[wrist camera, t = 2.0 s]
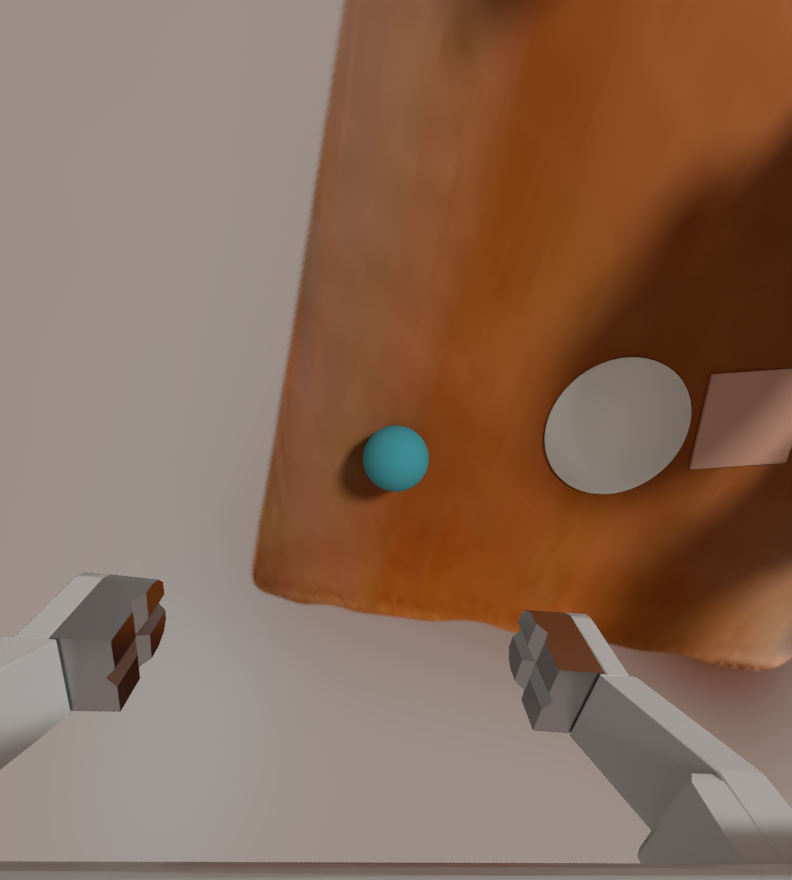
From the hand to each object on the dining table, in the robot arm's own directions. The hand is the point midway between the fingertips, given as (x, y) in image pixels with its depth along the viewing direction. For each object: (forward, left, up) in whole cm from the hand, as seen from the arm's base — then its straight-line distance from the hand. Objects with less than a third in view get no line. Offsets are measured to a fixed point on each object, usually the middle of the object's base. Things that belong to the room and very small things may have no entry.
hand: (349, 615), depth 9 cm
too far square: (-25, -23, -26) cm, 42 cm away
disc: (-18, -13, -26) cm, 34 cm away
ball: (-6, +3, -23) cm, 24 cm away
